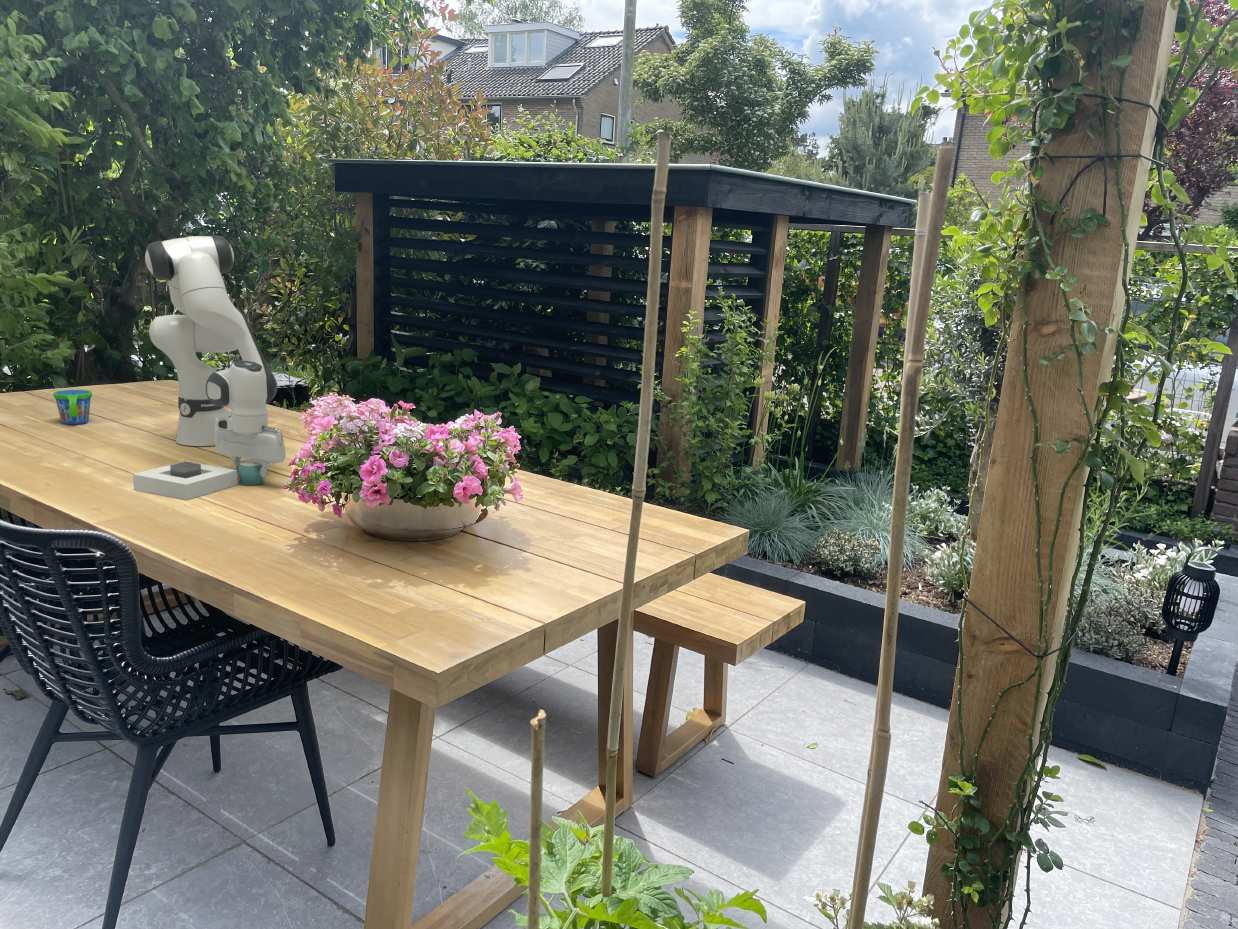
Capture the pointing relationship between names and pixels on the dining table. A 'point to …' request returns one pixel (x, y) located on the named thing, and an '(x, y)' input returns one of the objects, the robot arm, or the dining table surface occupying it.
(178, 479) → the tray
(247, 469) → the teal pot
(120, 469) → the dining table surface
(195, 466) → the block
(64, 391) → the snack cup
